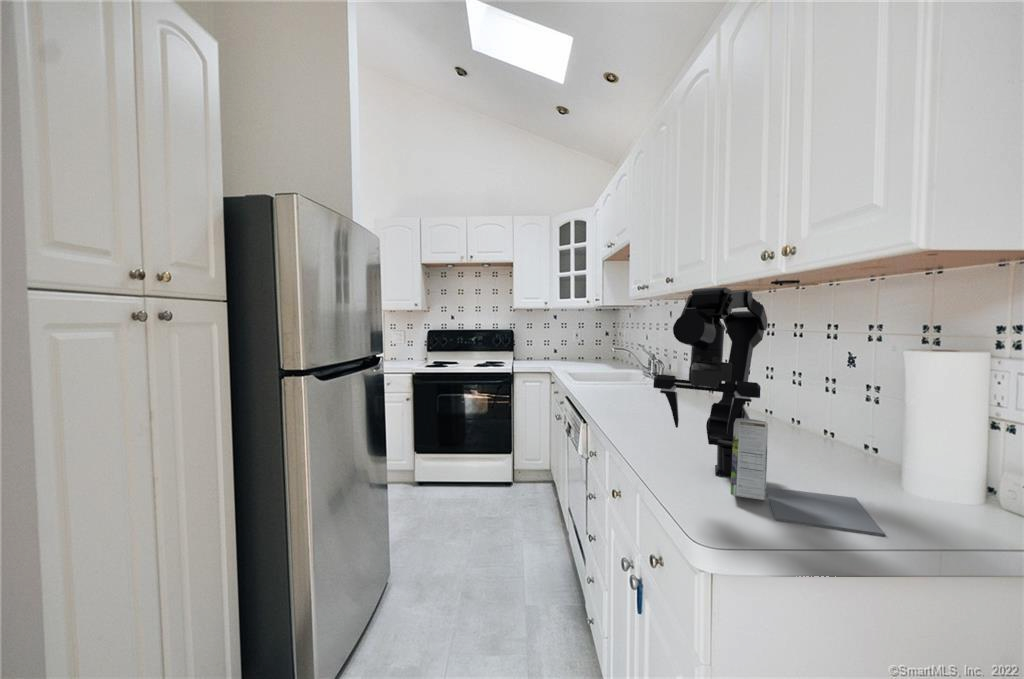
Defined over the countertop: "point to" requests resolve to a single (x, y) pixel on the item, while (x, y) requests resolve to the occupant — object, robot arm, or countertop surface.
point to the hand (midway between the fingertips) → (701, 430)
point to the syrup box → (749, 458)
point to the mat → (821, 511)
